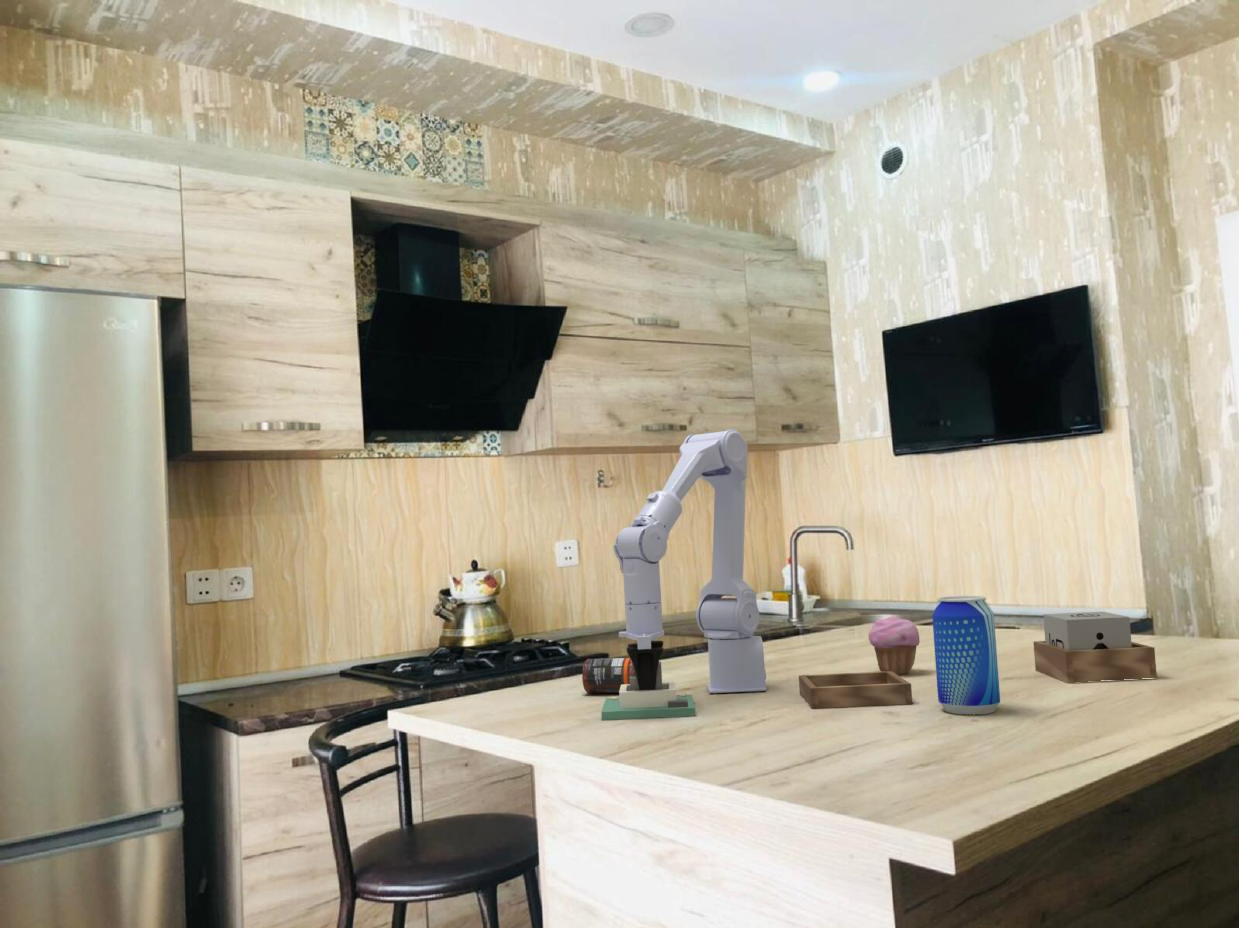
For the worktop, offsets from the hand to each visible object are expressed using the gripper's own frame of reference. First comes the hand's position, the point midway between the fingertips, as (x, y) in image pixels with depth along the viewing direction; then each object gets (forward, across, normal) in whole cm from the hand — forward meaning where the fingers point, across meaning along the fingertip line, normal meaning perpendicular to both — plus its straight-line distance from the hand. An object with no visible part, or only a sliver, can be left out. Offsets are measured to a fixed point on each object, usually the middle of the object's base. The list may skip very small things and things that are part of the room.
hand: (647, 690), depth 158 cm
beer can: (+3, +11, +46) cm, 47 cm away
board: (+3, 0, 0) cm, 3 cm away
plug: (+2, 0, 0) cm, 2 cm away
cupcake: (+3, -25, +44) cm, 51 cm away
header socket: (+2, 0, 0) cm, 2 cm away
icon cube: (+3, -13, +73) cm, 74 cm away
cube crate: (+3, -14, +74) cm, 75 cm away
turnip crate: (+3, -2, +32) cm, 32 cm away
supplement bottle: (0, -19, -11) cm, 22 cm away
